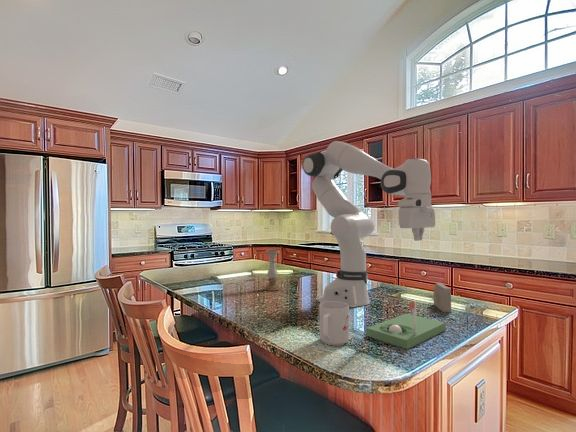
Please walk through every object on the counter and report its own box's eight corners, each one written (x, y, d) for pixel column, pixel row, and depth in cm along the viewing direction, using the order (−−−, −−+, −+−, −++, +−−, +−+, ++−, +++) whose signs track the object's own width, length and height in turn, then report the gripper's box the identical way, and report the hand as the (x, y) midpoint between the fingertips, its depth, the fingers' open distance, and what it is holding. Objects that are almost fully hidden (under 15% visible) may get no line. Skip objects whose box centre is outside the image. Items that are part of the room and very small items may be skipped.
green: (406, 320, 120) (406, 286, 120) (445, 330, 109) (445, 292, 109) (366, 335, 104) (366, 296, 104) (407, 349, 93) (407, 305, 93)
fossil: (452, 312, 129) (452, 288, 130) (442, 312, 130) (442, 288, 130) (441, 304, 141) (441, 282, 141) (433, 304, 142) (433, 282, 142)
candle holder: (262, 291, 168) (262, 251, 169) (266, 287, 177) (266, 249, 177) (279, 291, 167) (279, 251, 167) (282, 287, 176) (282, 250, 176)
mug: (325, 334, 106) (325, 299, 106) (352, 339, 101) (352, 303, 101) (310, 347, 95) (310, 308, 95) (339, 353, 91) (339, 313, 91)
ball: (398, 343, 101) (387, 336, 101) (396, 336, 105) (385, 329, 105) (406, 332, 100) (394, 326, 100) (403, 326, 104) (392, 320, 104)
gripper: (423, 203, 129) (423, 238, 129) (395, 202, 116) (395, 241, 116) (439, 203, 124) (440, 239, 124) (411, 201, 111) (412, 242, 111)
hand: (418, 240), depth 120 cm, fingers closed
